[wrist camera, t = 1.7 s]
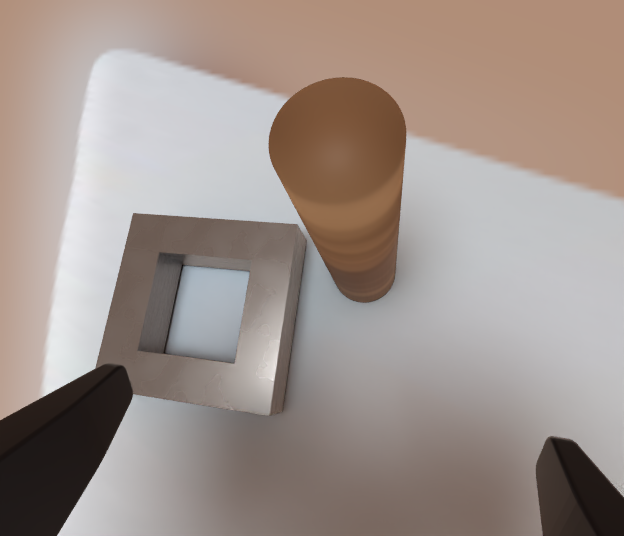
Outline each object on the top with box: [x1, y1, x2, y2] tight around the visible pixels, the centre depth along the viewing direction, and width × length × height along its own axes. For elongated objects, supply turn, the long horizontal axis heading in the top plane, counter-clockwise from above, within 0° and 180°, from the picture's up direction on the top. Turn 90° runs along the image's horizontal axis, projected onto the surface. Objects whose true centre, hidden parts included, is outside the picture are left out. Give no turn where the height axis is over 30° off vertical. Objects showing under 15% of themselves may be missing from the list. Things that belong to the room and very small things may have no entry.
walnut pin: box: [269, 77, 406, 302], centre depth 16 cm, size 3×3×13 cm
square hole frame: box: [95, 213, 306, 416], centre depth 22 cm, size 9×9×2 cm
